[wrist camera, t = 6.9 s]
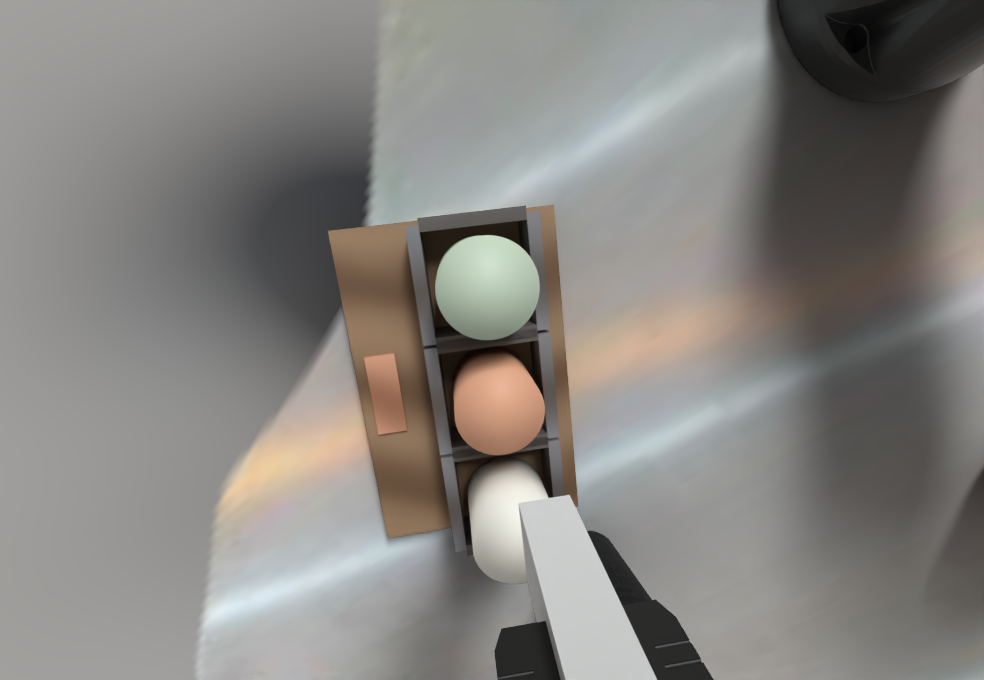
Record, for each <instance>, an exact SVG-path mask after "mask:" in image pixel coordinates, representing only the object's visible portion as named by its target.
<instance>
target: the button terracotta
mask: <svg viewBox="0 0 984 680" xmlns="http://www.w3.org/2000/svg"><path fill="white" fill-rule="evenodd" d="M453 398H454V414H455V423H456V427H457V429H458V432H459V433H460V435H461V437H462V438H463V439H464V441H465V442H466V443H467V444H468V445H470V446H471V447H472V448H474V449H476V450H477V451H480V452H482V453H485V454H490V455H506V454H510V453H513V452H516V451H518V450H520V449H522V448H524V447H525V446H527V445H528V444H529V443H530V442H531V441H532V440H533V439H534V438H535V437H536V436H537V434H538V433H539V431H540V429H541V427H542V424H543V421H544V416H545V405H544V400H543V397H542V394H541V392H540V390H539V389H538V387H537V385H536V384H535V382H534V381H533V379H532V377H531V376H530V374H529V373H528V371H527V370H526V368H525V366H524V365H523V363H522V362H521V360H520V359H519V358H518V357H517V356H516V355H515V354H514V353H512V352H511V351H509V350H507V349H505V348H502V347H497V346H494V347H487V348H480V349H475V350H473V351H471V352H470V353H468V354H467V355H466V356H464V357H463V359H462V360H461V361H460V362H459V364H458V365H457V367H456V369H455V372H454V376H453Z"/></svg>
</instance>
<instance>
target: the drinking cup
mask: <svg viewBox="0 0 984 680" xmlns="http://www.w3.org/2000/svg"><path fill="white" fill-rule="evenodd" d="M587 533H588V535H589V537H590V539H591V541H592V543H593V545H594V547H595V550H596V552H597V554H598V556H599V558H600V560H601V562H602V564H603V566H604V569H605V571H606V573H607V575H608V577H609V579H610V581H611V583H612V585H613V588H614V590H615V592H616V594H617V596H618V598H619V600H620V602H621V605H622V606H623V605H628V604H634V603H640V602H645V601H651V600H652V599H651V598H650V596H649V595H648V594H647V592H646V591H645V589H644V588H643V587H642V585H641V584H640V582H639V581H638V580H637V578H636V577H635V575H634V574H633V573H632V571H631V570H630V568H629V567H628V566H627V564H626V563H625V561H624V560H623V559H622V557H621V556H620V554H619V553H618V552H617V550H616V549H615V547H614V546H613V545H612V543H611V542H610V540H609V539H608V538H606V537H605V536H604V535H602V534H600V533H597V532H593V531H587Z"/></svg>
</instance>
